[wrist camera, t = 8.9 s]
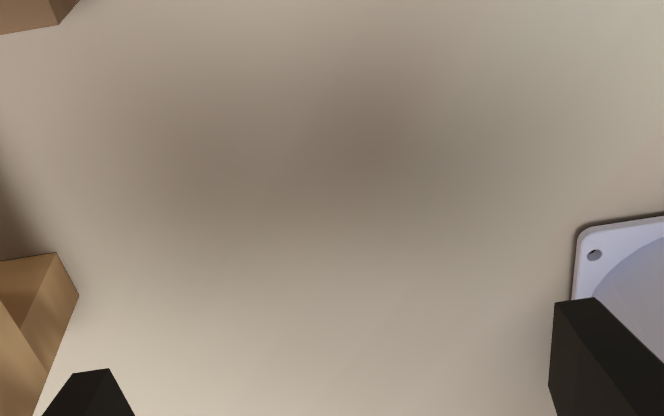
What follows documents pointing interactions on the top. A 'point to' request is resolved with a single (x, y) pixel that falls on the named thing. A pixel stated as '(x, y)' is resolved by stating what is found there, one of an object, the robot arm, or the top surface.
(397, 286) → the top surface
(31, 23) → the stepped wooden block
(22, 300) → the rail
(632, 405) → the robot arm
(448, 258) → the top surface
